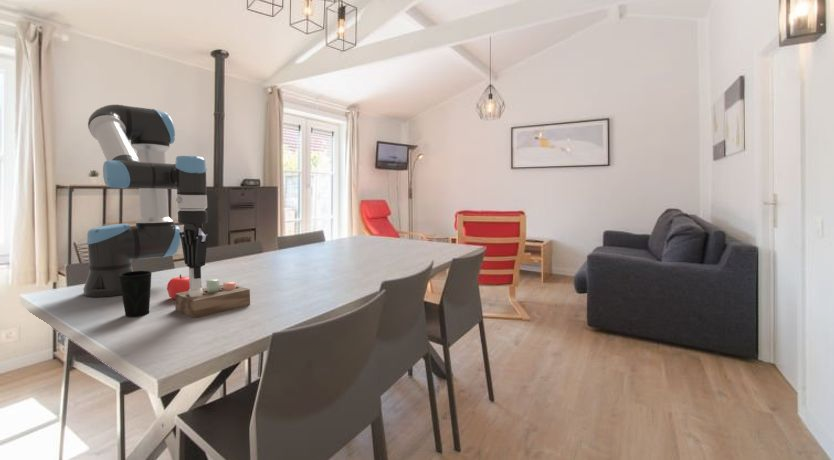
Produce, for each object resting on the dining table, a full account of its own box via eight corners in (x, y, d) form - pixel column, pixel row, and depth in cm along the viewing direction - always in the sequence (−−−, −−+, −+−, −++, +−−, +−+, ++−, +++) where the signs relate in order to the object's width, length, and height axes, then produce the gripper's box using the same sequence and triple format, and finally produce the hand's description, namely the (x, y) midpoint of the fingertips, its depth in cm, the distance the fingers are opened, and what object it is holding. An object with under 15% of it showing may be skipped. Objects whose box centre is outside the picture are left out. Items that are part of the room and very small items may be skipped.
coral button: (221, 295, 124) (221, 283, 124) (232, 293, 127) (231, 281, 127) (227, 297, 122) (227, 285, 122) (238, 295, 125) (238, 282, 125)
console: (175, 309, 117) (174, 293, 117) (230, 297, 131) (229, 283, 131) (194, 318, 110) (193, 300, 110) (250, 304, 124) (249, 289, 124)
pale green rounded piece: (204, 293, 120) (204, 280, 119) (216, 290, 123) (215, 278, 122) (210, 295, 118) (210, 282, 117) (222, 292, 121) (221, 280, 120)
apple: (161, 300, 127) (160, 276, 126) (179, 294, 134) (178, 271, 134) (184, 301, 126) (183, 277, 125) (200, 295, 133) (199, 272, 133)
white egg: (186, 302, 116) (186, 289, 115) (199, 300, 119) (198, 287, 118) (192, 304, 114) (192, 291, 113) (205, 302, 117) (204, 289, 116)
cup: (136, 319, 108) (134, 277, 107) (113, 317, 110) (111, 275, 109) (159, 311, 116) (158, 271, 115) (138, 309, 117) (136, 270, 116)
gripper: (168, 209, 114) (172, 287, 116) (189, 211, 107) (192, 295, 109) (195, 208, 120) (198, 283, 123) (216, 210, 113) (219, 289, 115)
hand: (195, 288), depth 116 cm, fingers closed
